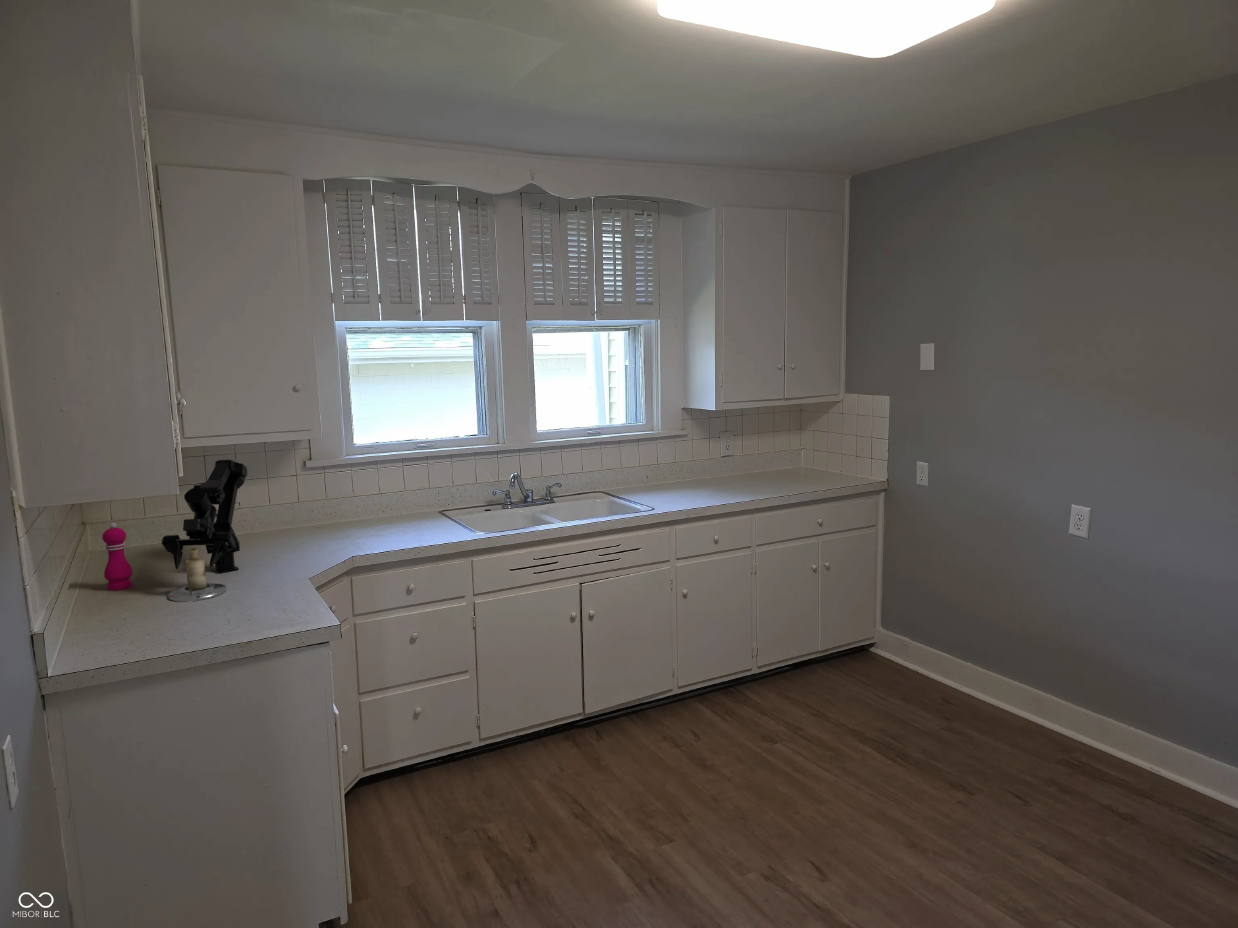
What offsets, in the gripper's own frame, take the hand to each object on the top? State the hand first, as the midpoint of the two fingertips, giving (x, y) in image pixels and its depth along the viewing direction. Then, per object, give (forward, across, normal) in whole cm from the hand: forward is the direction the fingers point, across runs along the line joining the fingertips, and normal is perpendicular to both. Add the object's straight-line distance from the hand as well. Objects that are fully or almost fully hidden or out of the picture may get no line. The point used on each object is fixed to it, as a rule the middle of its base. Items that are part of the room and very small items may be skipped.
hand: (193, 567), depth 227 cm
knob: (+4, 0, +6) cm, 8 cm away
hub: (+5, 0, +7) cm, 8 cm away
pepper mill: (-3, -26, +15) cm, 30 cm away
